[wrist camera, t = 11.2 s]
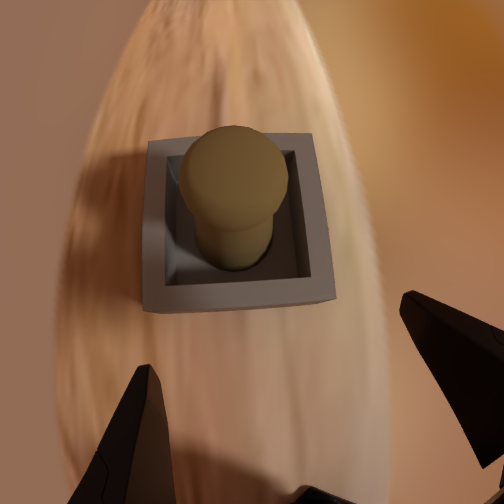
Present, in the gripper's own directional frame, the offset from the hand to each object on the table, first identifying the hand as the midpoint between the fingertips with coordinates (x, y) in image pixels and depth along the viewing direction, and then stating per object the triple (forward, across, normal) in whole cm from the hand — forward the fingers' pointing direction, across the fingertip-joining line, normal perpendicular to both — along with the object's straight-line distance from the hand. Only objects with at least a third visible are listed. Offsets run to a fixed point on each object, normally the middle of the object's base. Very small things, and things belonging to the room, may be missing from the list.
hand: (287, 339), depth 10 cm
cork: (+14, 0, +4) cm, 15 cm away
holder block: (+15, 0, +4) cm, 16 cm away
